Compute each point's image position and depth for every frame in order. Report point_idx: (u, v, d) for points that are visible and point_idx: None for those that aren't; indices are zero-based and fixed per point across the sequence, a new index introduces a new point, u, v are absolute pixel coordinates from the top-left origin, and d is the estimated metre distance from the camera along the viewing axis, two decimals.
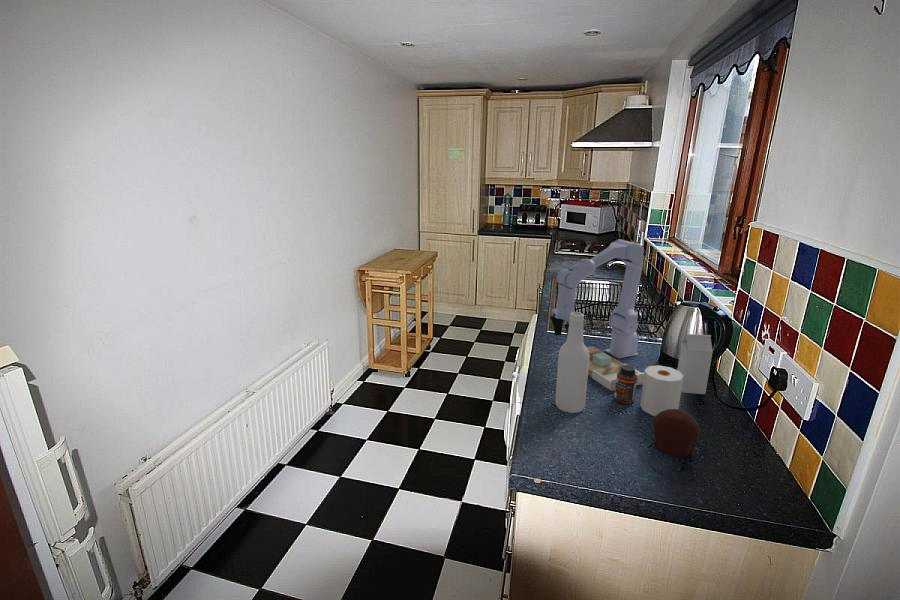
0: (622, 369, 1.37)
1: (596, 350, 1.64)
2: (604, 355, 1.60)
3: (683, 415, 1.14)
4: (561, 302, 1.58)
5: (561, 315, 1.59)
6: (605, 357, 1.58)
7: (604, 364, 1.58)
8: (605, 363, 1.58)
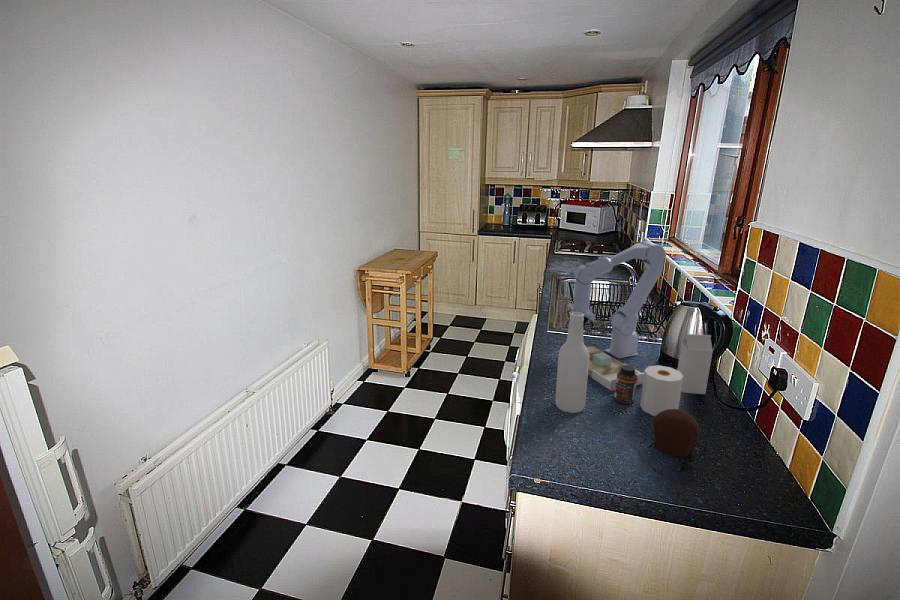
0: (622, 369, 1.37)
1: (596, 350, 1.64)
2: (604, 355, 1.60)
3: (683, 414, 1.14)
4: (576, 296, 1.65)
5: (577, 309, 1.66)
6: (605, 357, 1.58)
7: (604, 364, 1.58)
8: (605, 363, 1.58)
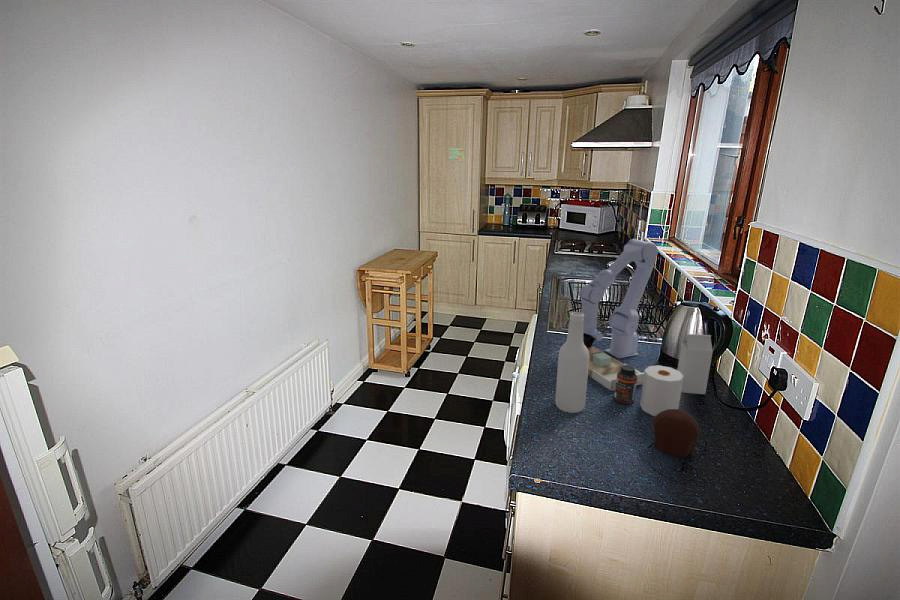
0: (622, 369, 1.37)
1: (597, 351, 1.63)
2: (604, 355, 1.60)
3: (683, 414, 1.14)
4: (585, 317, 1.62)
5: (584, 329, 1.63)
6: (605, 357, 1.58)
7: (604, 364, 1.58)
8: (605, 363, 1.58)
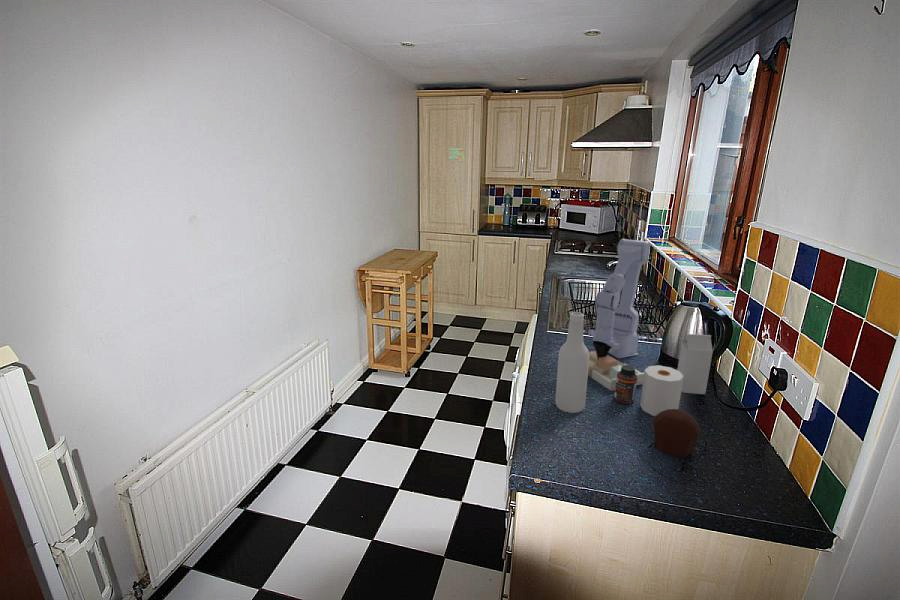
0: (622, 369, 1.37)
1: (613, 360, 1.56)
2: None
3: (683, 414, 1.14)
4: (604, 325, 1.53)
5: (599, 337, 1.55)
6: None
7: None
8: None
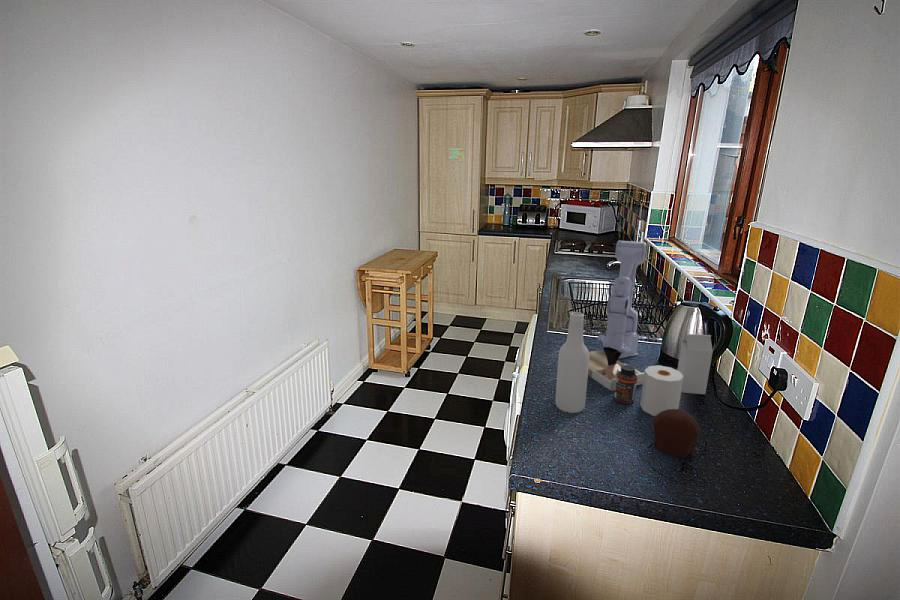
0: (622, 369, 1.37)
1: None
2: None
3: (683, 414, 1.14)
4: (618, 331, 1.48)
5: (610, 343, 1.50)
6: None
7: None
8: None
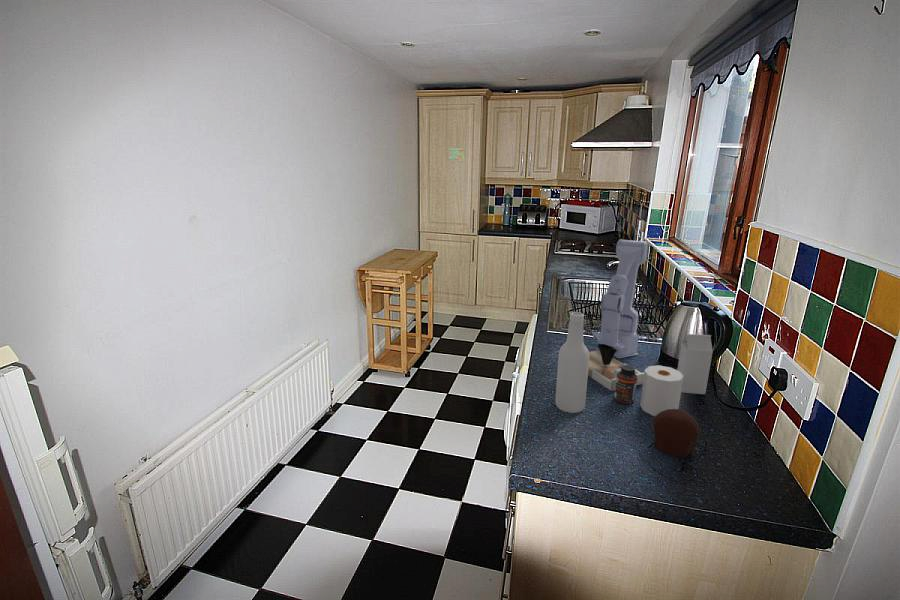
0: (622, 369, 1.37)
1: None
2: None
3: (683, 414, 1.14)
4: (611, 328, 1.51)
5: (605, 340, 1.53)
6: None
7: None
8: None
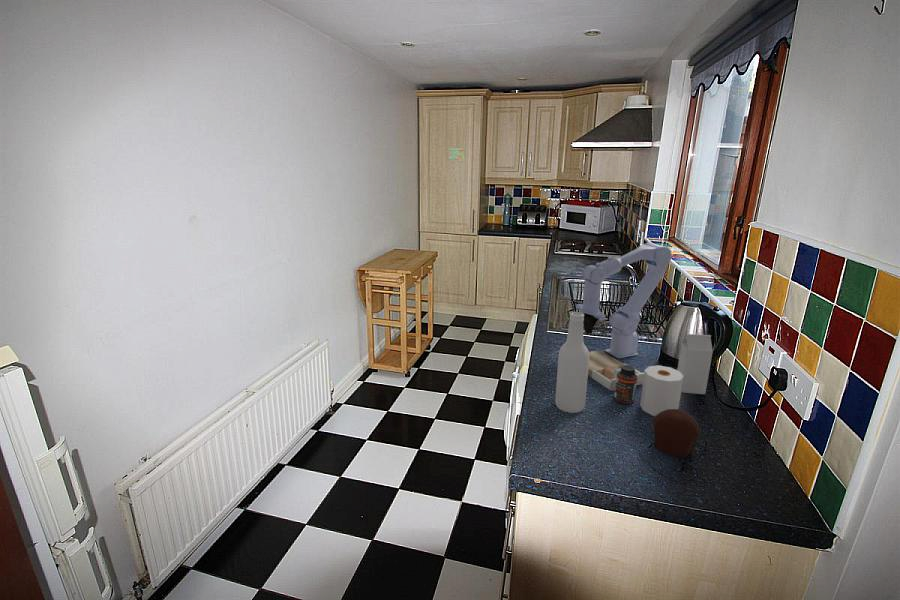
0: (622, 369, 1.37)
1: None
2: None
3: (683, 414, 1.14)
4: (586, 297, 1.63)
5: (587, 310, 1.64)
6: None
7: None
8: None
